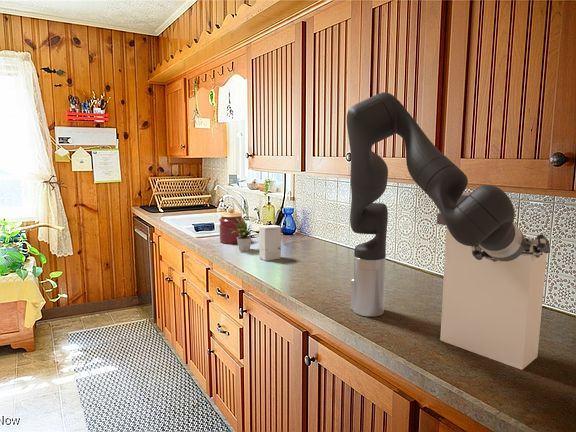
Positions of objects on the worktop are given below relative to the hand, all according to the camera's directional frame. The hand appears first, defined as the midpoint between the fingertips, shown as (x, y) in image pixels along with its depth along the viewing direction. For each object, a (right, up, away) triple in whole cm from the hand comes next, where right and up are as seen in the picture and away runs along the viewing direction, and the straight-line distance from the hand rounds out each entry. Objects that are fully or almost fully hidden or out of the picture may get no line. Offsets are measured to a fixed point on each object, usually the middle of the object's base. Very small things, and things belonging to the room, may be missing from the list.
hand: (515, 255), depth 97 cm
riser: (-1, -24, +11) cm, 27 cm away
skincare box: (-59, -11, +98) cm, 115 cm away
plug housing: (-9, +8, +8) cm, 14 cm away
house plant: (-73, -8, +115) cm, 136 cm away
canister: (-80, -5, +133) cm, 156 cm away
